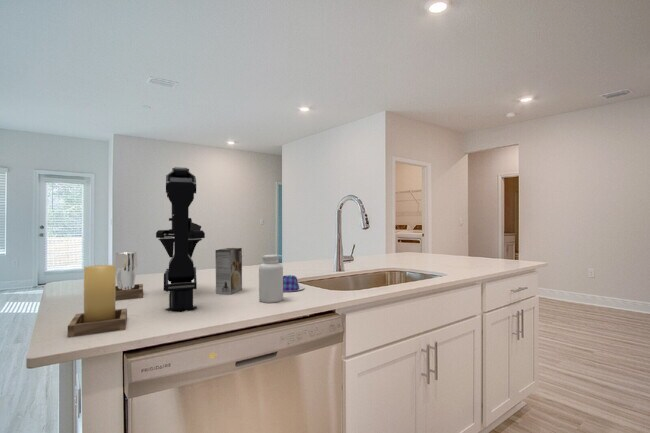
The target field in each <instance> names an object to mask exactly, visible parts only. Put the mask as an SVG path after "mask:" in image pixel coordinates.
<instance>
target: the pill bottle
mask: <svg viewBox="0 0 650 433" xmlns="http://www.w3.org/2000/svg"><path fill="white" fill-rule="evenodd" d="M279 257H280V256H279V254H265V255H262V262H263V263H261V264H260V265H259V266H258V300H259V302H261V303H266V304H267V303H268V304H271V303H279V302H281V301H283V300H284V292H283V276H284V271H283V270H284V268H283V267H284V266H283V264H282V263H279V261H280V260H279Z"/></svg>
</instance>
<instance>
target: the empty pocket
mask: <svg viewBox="0 0 650 433" xmlns="http://www.w3.org/2000/svg"><path fill="white" fill-rule="evenodd" d="M117 286H118V285H115V301H123V300H133V299H143V298H144V283H140V284H139V283H137V284H136V283H135V289H134V290H123V291H117Z"/></svg>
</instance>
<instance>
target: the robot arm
mask: <svg viewBox="0 0 650 433" xmlns="http://www.w3.org/2000/svg"><path fill="white" fill-rule="evenodd" d="M165 193H166V198H168V200H169V202H170V203H171V217H168V221H169V222H170V221H171V229H158V230H157V231H156V232H155V238H156V239H158V241H159V242H160V243H161V245H162V246H163V248H164V249H165V251H166V253H167V256H168V257H169V258H170V260H169V262H168V268H166V270H165V272H164V273H163V291H164V292H167V293H168V292H169V296H168V306H169V307H168V308H165V311H168V312H175V313H183V312H188V311H192V310H195V309H198V306H196V305H194V290H197V288H198V287H197V286H198V285H197V283H198V282H197V267H196V266H195V265H194V260H193V259H192V258H193V254H194V251H195V249H196V246H197V244H198V243H199V242H200V241H202V240H203V239H205V238H206V236H205V235H206V232H205V231H204V230H203V229H202V225H199V224H198V223H195V222H193V221H192V218H191V217H189V212H190V211H189V209H190V208H189V207H190V206H191V204H192V203H193V202H194V200H195V199H194V198H195V194H197V177H196V176H195V175H194V174H193V173H191V171H190V168H188V167H179V166H178V167H177V166H174V167H172V169H171V172H170V171H169V173H168V174H166V175H165ZM169 282H170V283H169Z"/></svg>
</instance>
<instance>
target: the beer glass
mask: <svg viewBox="0 0 650 433" xmlns="http://www.w3.org/2000/svg"><path fill="white" fill-rule="evenodd" d="M114 265H115V280H116V283H117V285H116V286H117V291H123V290H134V289H135V284H136V277H137V273H138V272H137V271H138V254H137V251H122V252H115V254H114Z"/></svg>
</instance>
